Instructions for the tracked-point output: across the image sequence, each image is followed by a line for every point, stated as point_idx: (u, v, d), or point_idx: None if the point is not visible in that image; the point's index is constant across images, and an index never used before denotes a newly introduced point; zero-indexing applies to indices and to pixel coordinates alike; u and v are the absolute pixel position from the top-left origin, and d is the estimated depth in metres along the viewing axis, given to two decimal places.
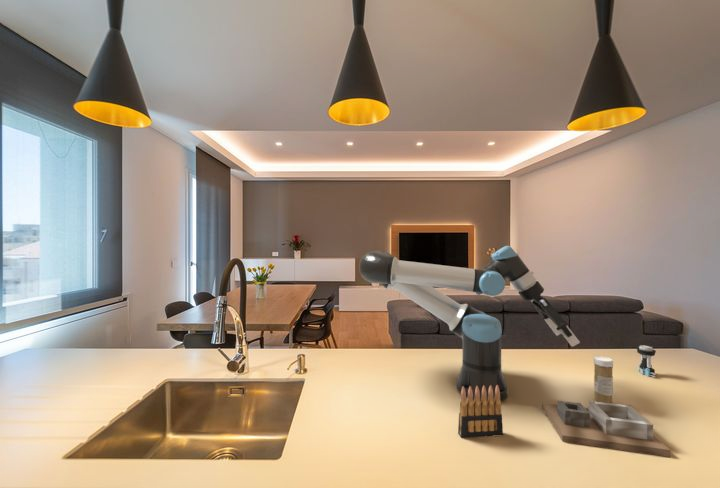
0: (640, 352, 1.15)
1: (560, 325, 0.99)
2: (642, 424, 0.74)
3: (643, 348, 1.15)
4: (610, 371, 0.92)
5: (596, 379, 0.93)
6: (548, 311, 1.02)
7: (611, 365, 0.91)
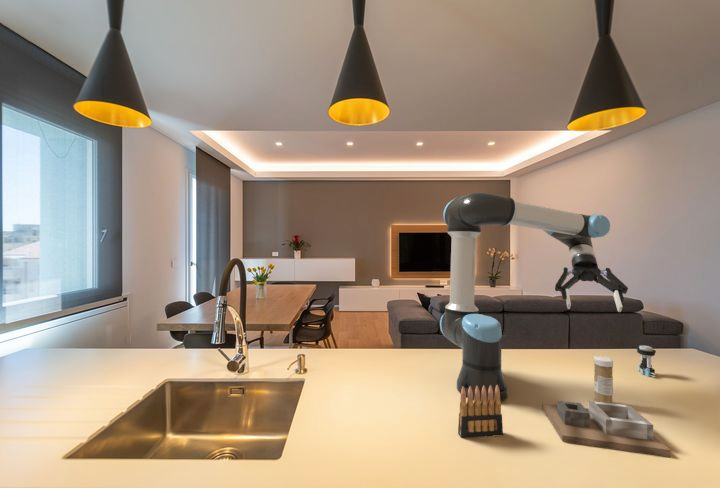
0: (640, 352, 1.15)
1: None
2: (642, 424, 0.74)
3: (643, 348, 1.15)
4: (610, 371, 0.92)
5: (596, 379, 0.93)
6: None
7: (611, 365, 0.91)
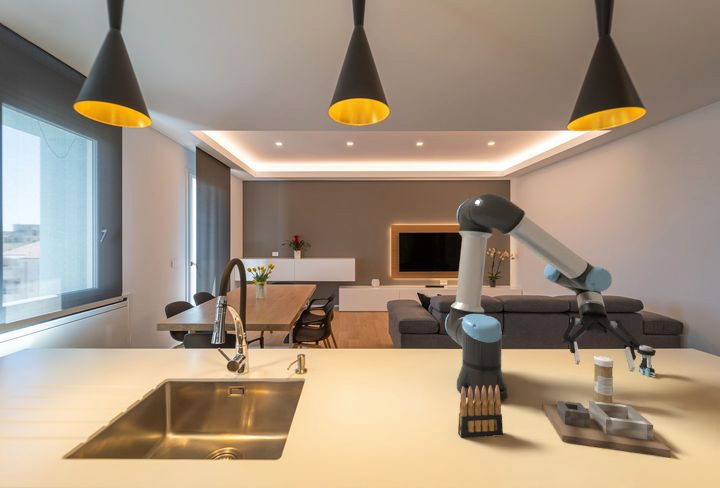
0: (640, 352, 1.15)
1: None
2: (642, 424, 0.74)
3: (643, 348, 1.15)
4: (610, 371, 0.92)
5: (596, 379, 0.93)
6: None
7: (611, 365, 0.91)
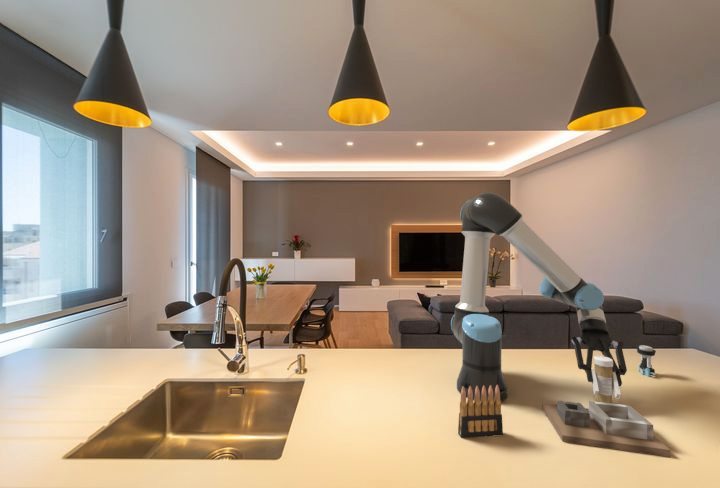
0: (640, 352, 1.15)
1: None
2: (642, 424, 0.74)
3: (643, 348, 1.15)
4: (610, 371, 0.92)
5: None
6: None
7: (611, 365, 0.91)
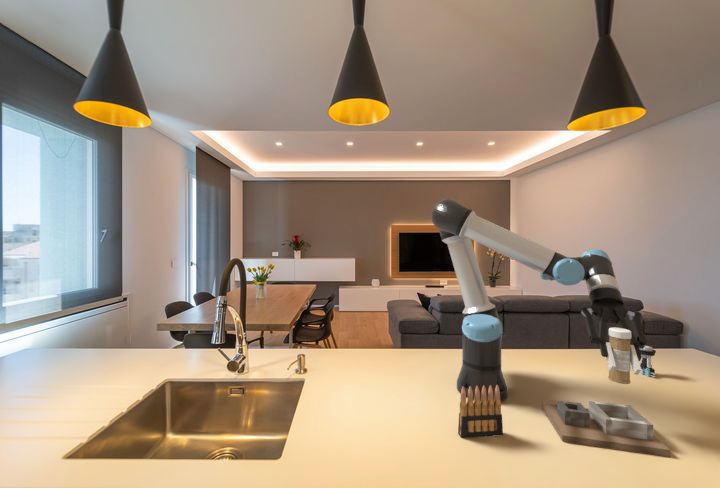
0: (640, 352, 1.15)
1: None
2: (642, 424, 0.74)
3: (643, 348, 1.15)
4: (628, 344, 0.80)
5: None
6: None
7: (629, 337, 0.79)
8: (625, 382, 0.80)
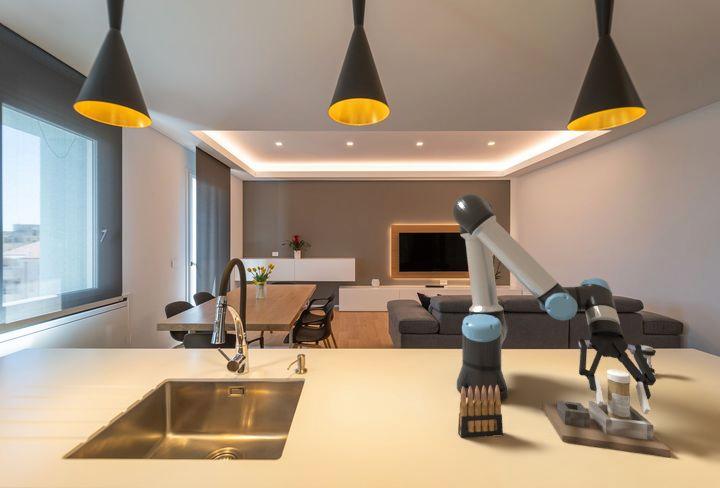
0: None
1: None
2: (642, 424, 0.74)
3: (643, 348, 1.15)
4: (627, 388, 0.77)
5: (610, 397, 0.79)
6: None
7: (628, 381, 0.77)
8: None
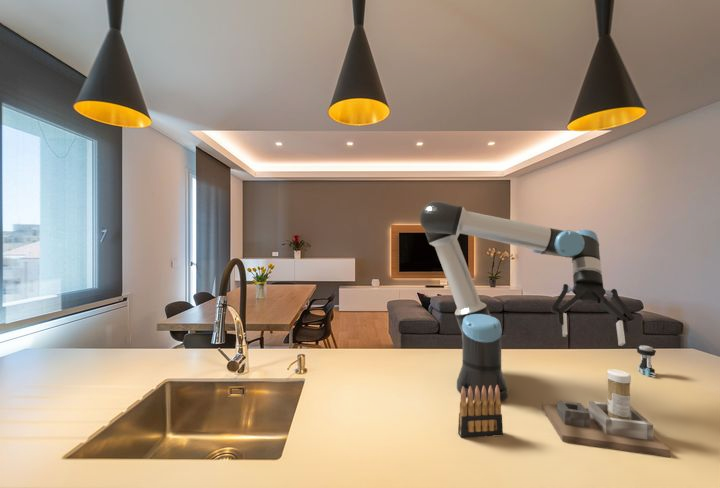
0: (640, 352, 1.15)
1: None
2: (642, 424, 0.74)
3: (643, 348, 1.15)
4: (627, 388, 0.77)
5: (610, 397, 0.79)
6: None
7: (628, 381, 0.77)
8: None
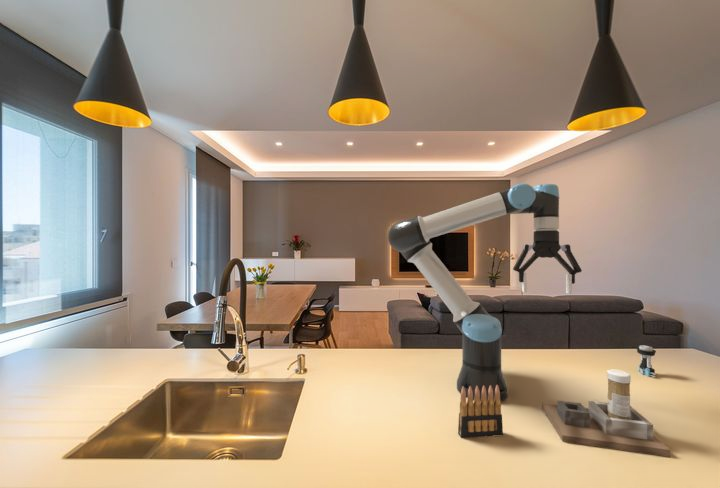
0: (640, 352, 1.15)
1: None
2: (642, 424, 0.74)
3: (643, 348, 1.15)
4: (627, 388, 0.77)
5: (610, 397, 0.79)
6: None
7: (628, 381, 0.77)
8: None
